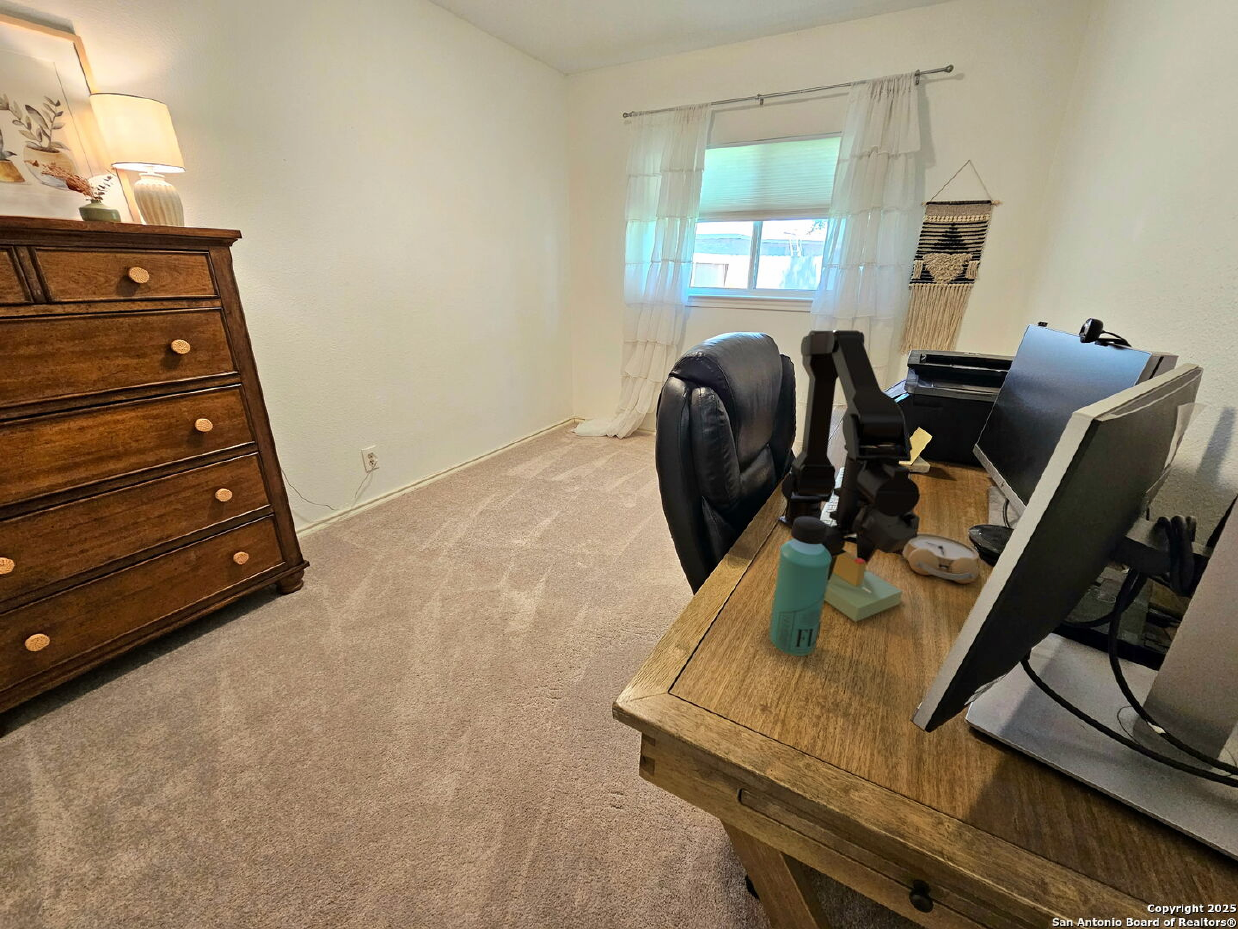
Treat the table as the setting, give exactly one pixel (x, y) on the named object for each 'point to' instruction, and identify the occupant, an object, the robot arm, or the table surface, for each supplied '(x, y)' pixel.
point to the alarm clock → (942, 557)
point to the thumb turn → (850, 568)
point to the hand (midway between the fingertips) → (844, 573)
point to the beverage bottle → (800, 588)
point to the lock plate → (861, 596)
